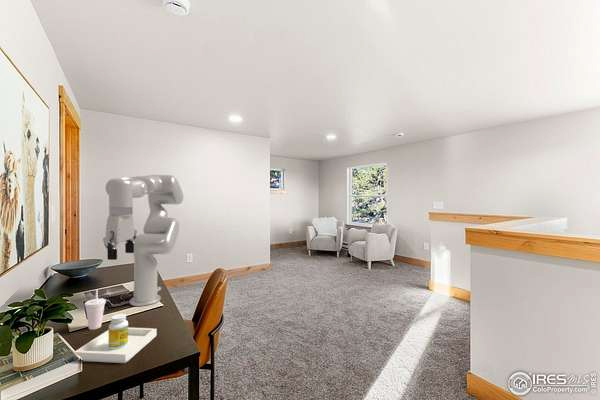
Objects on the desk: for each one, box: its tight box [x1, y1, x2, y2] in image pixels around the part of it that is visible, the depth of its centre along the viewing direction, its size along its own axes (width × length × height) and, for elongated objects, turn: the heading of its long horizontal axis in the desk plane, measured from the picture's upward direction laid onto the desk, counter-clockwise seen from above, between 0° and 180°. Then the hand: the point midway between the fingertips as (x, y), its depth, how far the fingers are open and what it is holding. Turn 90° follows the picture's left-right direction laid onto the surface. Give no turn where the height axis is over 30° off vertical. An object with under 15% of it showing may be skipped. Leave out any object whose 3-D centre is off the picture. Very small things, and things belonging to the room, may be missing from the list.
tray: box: [74, 326, 158, 364], centre depth 89 cm, size 16×16×2 cm
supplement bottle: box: [108, 313, 129, 349], centre depth 89 cm, size 5×5×10 cm
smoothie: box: [84, 289, 107, 331], centre depth 102 cm, size 6×6×14 cm
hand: (121, 256), depth 104 cm, fingers open, 9 cm apart
